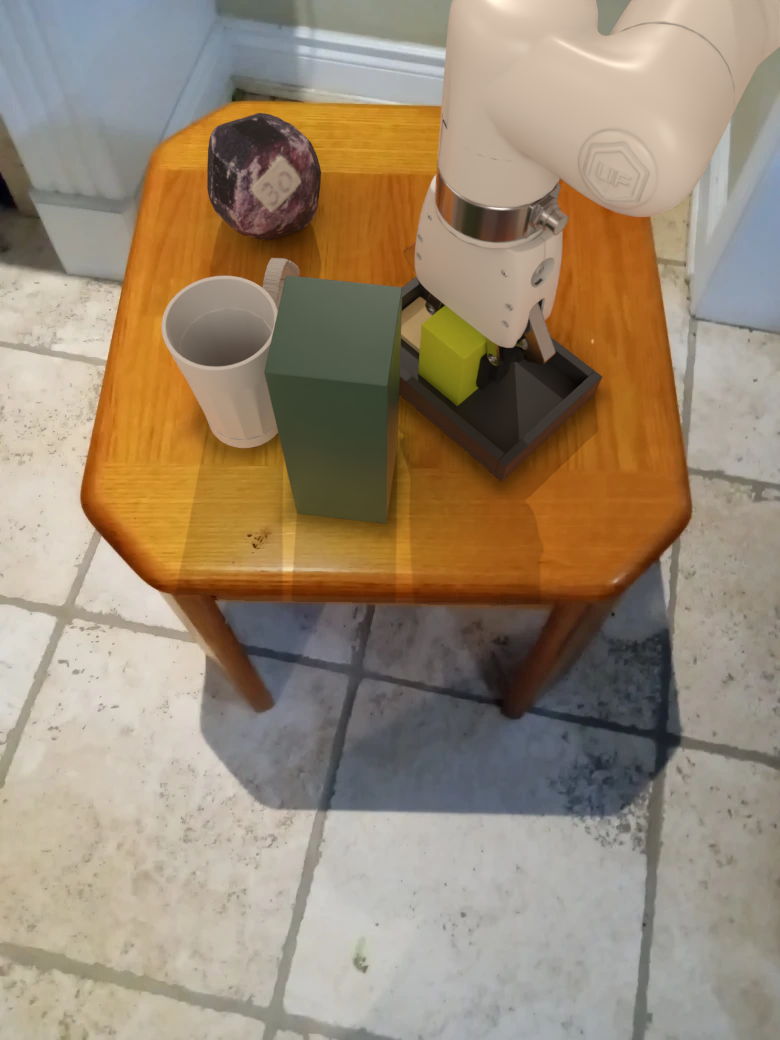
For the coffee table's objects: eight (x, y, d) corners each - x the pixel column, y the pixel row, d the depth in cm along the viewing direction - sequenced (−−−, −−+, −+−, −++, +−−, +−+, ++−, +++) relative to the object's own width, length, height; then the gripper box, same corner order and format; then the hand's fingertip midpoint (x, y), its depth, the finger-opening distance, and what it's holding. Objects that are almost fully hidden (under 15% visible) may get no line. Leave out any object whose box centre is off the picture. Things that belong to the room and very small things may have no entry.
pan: (595, 394, 68) (602, 376, 65) (501, 482, 64) (506, 466, 62) (441, 274, 73) (443, 254, 70) (347, 350, 69) (346, 331, 67)
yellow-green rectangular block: (514, 356, 69) (527, 306, 63) (457, 406, 66) (464, 359, 61) (475, 325, 70) (483, 273, 64) (417, 373, 68) (421, 324, 62)
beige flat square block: (453, 327, 70) (453, 323, 69) (420, 354, 69) (420, 350, 68) (419, 300, 71) (419, 296, 70) (386, 326, 70) (387, 322, 69)
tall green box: (397, 445, 66) (402, 286, 48) (386, 524, 63) (387, 386, 46) (311, 435, 66) (285, 274, 49) (296, 513, 63) (263, 372, 46)
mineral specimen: (200, 254, 71) (183, 133, 64) (230, 208, 79) (217, 95, 72) (311, 262, 71) (305, 140, 64) (330, 214, 78) (327, 101, 72)
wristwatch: (303, 290, 72) (298, 249, 67) (289, 335, 70) (282, 297, 65) (271, 284, 72) (264, 244, 68) (256, 329, 70) (247, 291, 66)
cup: (266, 471, 65) (242, 387, 54) (179, 434, 66) (138, 344, 55) (312, 394, 68) (298, 298, 57) (228, 360, 69) (199, 260, 58)
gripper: (641, 228, 49) (575, 394, 66) (439, 88, 54) (425, 276, 71) (560, 297, 47) (513, 451, 64) (358, 145, 52) (363, 325, 69)
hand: (467, 357), depth 67 cm, fingers closed on yellow-green rectangular block, 4 cm apart
